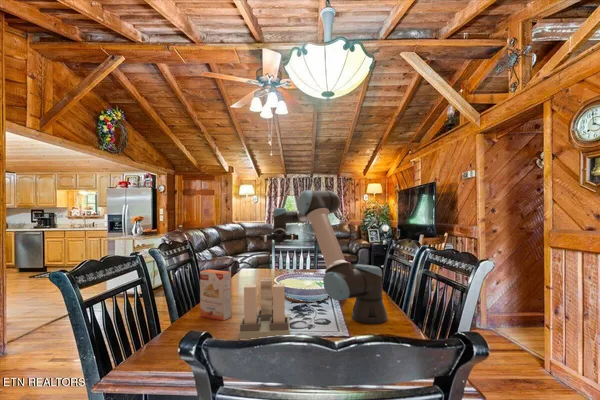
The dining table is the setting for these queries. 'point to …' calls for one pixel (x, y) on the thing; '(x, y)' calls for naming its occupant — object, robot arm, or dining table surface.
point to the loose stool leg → (266, 296)
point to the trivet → (299, 300)
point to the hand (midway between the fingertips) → (278, 239)
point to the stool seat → (264, 315)
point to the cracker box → (215, 294)
